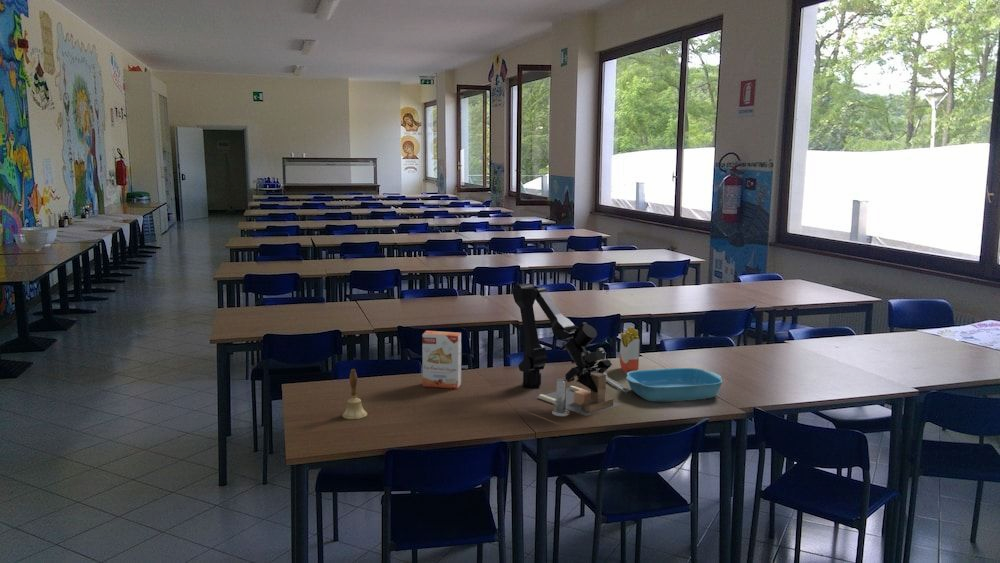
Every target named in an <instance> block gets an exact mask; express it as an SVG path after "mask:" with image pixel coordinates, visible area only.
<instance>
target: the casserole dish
mask: <svg viewBox="0 0 1000 563" xmlns="http://www.w3.org/2000/svg"><path fill="white" fill-rule="evenodd" d="M625 379H626V381H627V382H628V384H629V385H628V386H629V387H630V389H631V391H632V392H634V393H635V394H636V395H637V396H639V397H641V399H644V400H645V401H648V402H655V403H668V402H670V403H671V402H683V401H684V400H688V401H697V400H696V399H700V400H706V398H709V399H713V398H714V397H715V396H716V395H717V394H718V393H719V391H720V388H721V386H722V384H723V379H722V376H721V375H720V374H717V373H715V372H713V371H708V370H705V369H701V368H698V367H696V368H694V367H677V368H676V367H675V368H673V367H672V368H657V369H654V368H653V369H642V370H641V369H640V370H639V369H638V370H637V371H630V372H628V373H626V377H625Z"/></svg>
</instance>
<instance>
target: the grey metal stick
mask: <svg viewBox="0 0 1000 563" xmlns="http://www.w3.org/2000/svg"><path fill="white" fill-rule="evenodd" d="M566 389H567V380H566V379H563V378H562V379H561V378H559V379H558V378H557V379H556V391H557V392H556V391H555V392H556V405H555V409H552V411H551V414H552V415H553V416H556V417H567V416H570V410H569V409H566Z"/></svg>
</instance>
